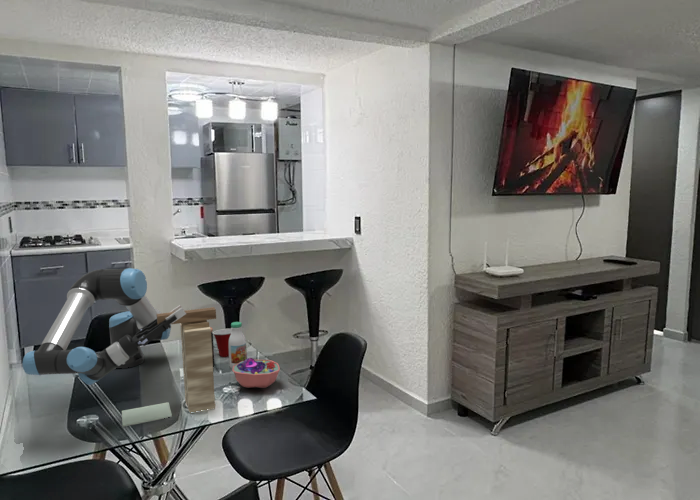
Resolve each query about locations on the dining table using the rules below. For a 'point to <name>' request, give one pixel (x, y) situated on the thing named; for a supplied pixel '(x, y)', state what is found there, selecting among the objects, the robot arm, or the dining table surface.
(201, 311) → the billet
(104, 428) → the dining table surface
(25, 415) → the dining table surface
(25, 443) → the dining table surface
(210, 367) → the wooden block tower
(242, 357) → the milk bottle
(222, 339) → the plastic cup
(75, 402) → the dining table surface
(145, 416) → the mat
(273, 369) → the cell model
